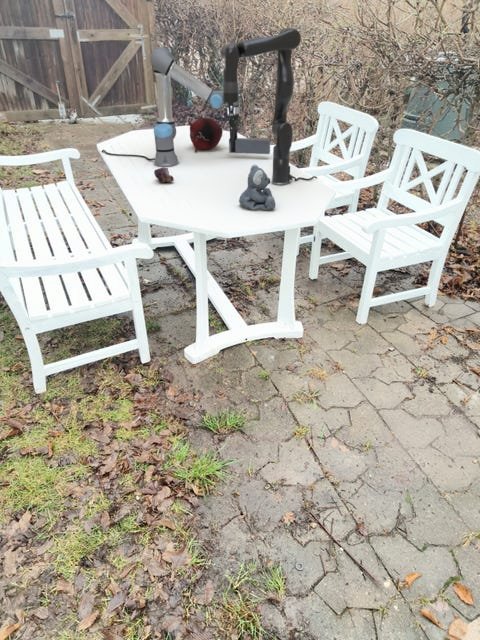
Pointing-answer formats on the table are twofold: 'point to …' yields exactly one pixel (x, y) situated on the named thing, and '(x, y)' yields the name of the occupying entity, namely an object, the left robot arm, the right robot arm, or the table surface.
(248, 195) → the koala plush
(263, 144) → the bar
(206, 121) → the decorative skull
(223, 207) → the table surface
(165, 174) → the rock
